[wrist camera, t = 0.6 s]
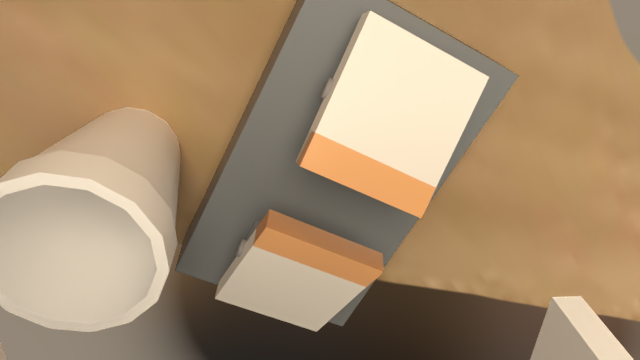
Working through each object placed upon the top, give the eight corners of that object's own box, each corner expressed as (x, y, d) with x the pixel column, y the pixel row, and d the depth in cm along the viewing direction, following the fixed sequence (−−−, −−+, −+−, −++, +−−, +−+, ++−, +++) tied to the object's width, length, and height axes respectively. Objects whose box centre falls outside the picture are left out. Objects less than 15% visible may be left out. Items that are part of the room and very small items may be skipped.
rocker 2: (290, 158, 28) (296, 164, 26) (355, 13, 27) (367, 8, 25) (410, 210, 30) (424, 219, 28) (473, 78, 30) (492, 78, 28)
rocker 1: (218, 273, 35) (211, 298, 33) (267, 200, 29) (263, 226, 28) (320, 308, 37) (318, 332, 36) (385, 247, 32) (386, 273, 30)
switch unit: (184, 239, 39) (171, 285, 34) (317, -42, 30) (325, -34, 25) (339, 293, 43) (347, 342, 38) (496, 61, 34) (533, 85, 29)
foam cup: (227, 135, 35) (205, 240, 23) (162, 224, 38) (115, 355, 26) (102, 57, 32) (6, 134, 20) (43, 161, 35) (-71, 280, 23)
